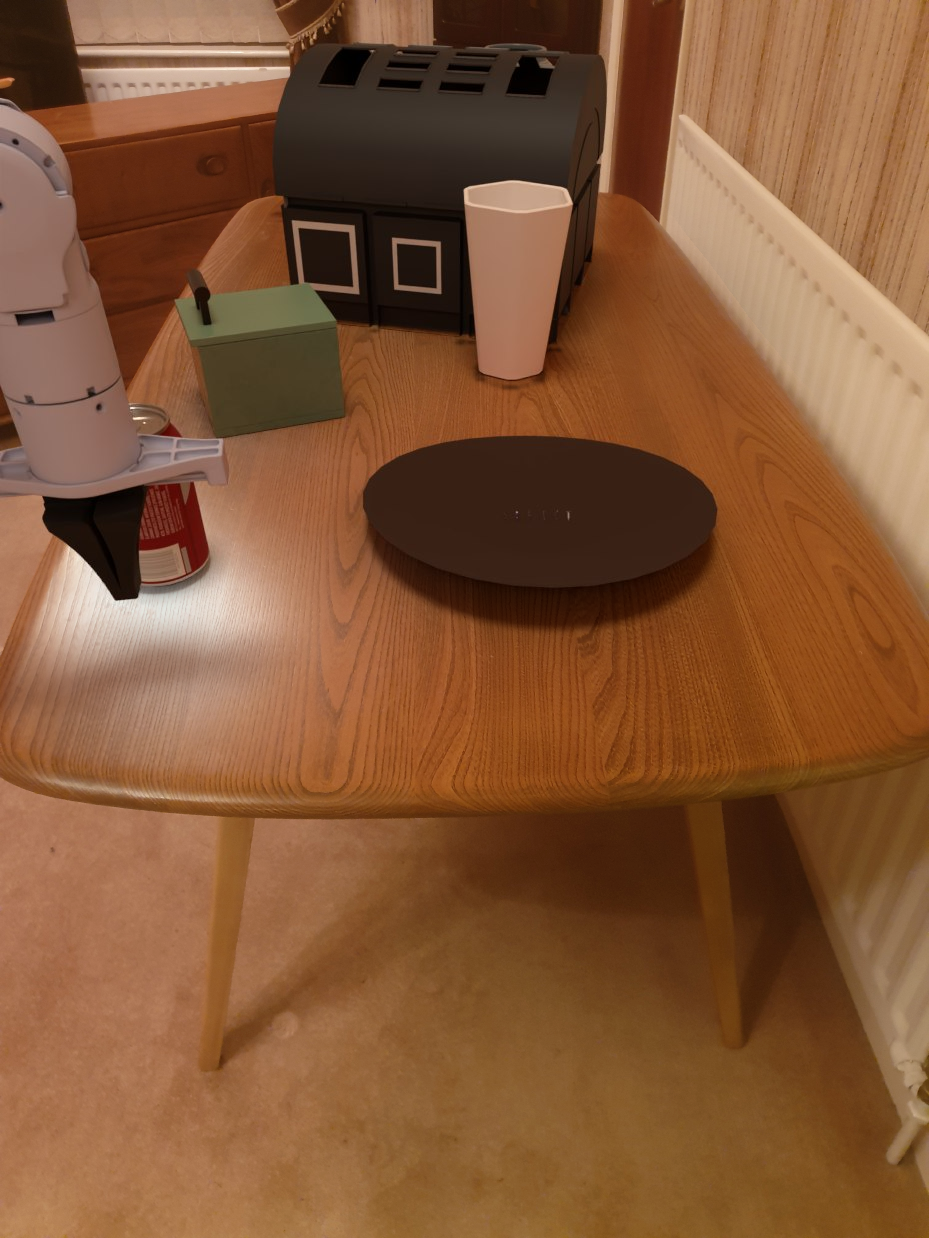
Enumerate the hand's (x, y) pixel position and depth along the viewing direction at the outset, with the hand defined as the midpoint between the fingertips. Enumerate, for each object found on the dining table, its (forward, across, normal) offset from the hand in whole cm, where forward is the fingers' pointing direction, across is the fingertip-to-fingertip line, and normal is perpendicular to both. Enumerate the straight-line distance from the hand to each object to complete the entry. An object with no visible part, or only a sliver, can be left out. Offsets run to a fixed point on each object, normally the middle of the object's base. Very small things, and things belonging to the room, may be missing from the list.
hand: (128, 590), depth 53 cm
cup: (+6, -33, -42) cm, 54 cm away
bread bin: (+6, -8, -37) cm, 39 cm away
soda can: (+6, 0, -11) cm, 13 cm away
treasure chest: (+6, -31, -68) cm, 75 cm away
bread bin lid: (-3, -7, -37) cm, 38 cm away
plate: (+6, -29, -13) cm, 33 cm away
